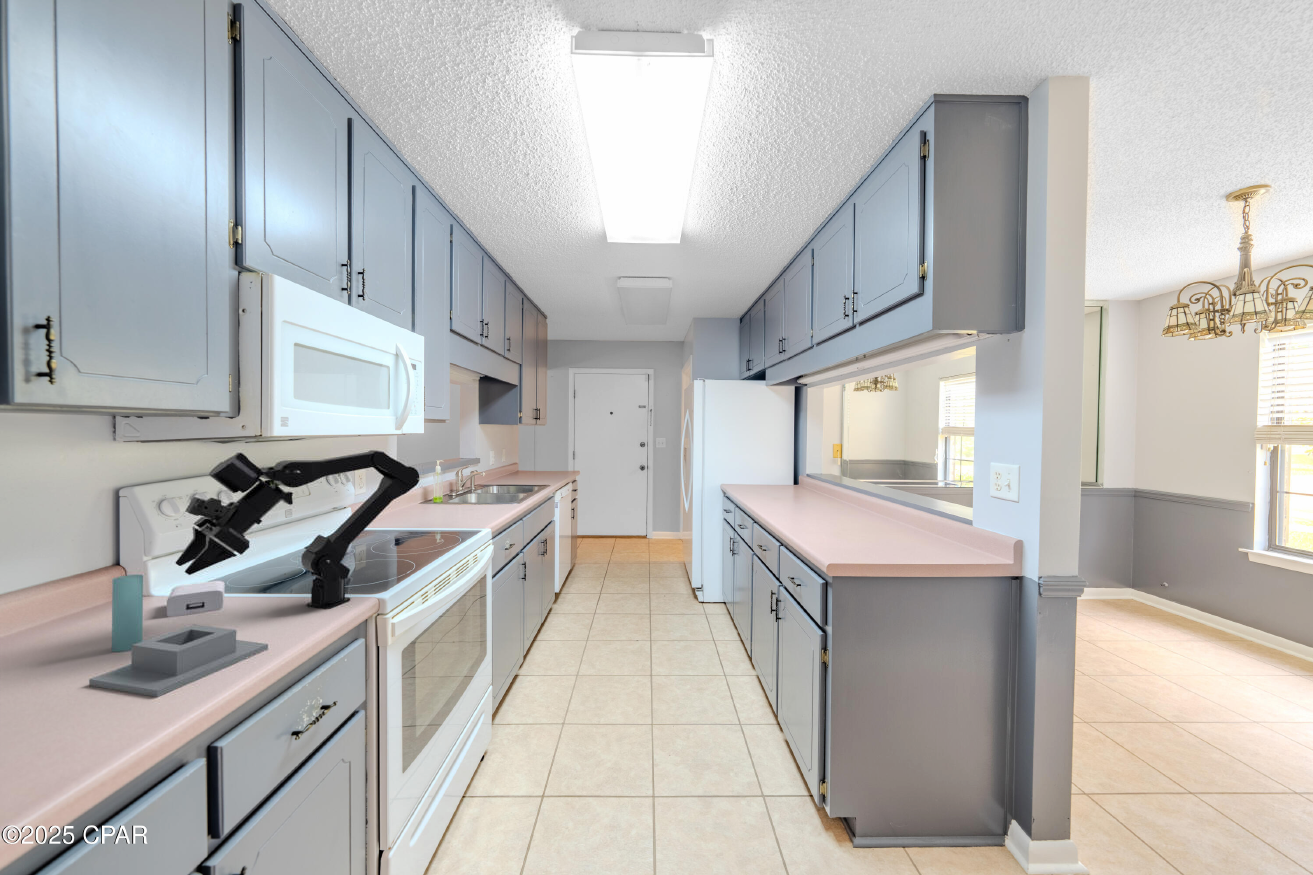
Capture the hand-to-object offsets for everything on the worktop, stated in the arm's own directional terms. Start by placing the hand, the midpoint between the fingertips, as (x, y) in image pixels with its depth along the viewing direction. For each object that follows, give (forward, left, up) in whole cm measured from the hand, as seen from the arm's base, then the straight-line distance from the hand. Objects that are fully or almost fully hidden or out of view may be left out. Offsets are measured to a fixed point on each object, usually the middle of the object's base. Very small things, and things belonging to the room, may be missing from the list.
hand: (181, 568), depth 103 cm
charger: (-15, -16, -14) cm, 26 cm away
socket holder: (+10, +15, -13) cm, 22 cm away
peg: (+7, -3, -13) cm, 15 cm away
